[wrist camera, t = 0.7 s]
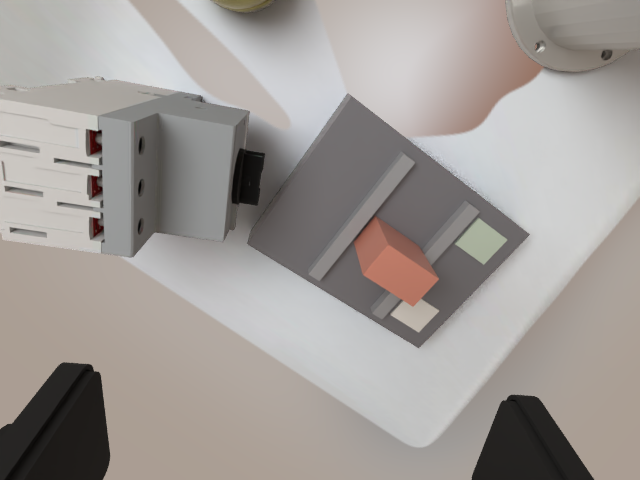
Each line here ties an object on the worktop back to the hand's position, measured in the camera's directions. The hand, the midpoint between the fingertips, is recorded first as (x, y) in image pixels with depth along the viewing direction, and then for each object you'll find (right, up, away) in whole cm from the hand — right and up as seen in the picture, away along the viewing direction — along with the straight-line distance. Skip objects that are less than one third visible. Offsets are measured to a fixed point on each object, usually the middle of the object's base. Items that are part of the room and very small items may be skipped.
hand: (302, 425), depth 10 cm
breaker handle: (+6, +4, +27) cm, 28 cm away
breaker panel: (+6, +6, +30) cm, 31 cm away
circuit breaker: (-11, +13, +26) cm, 31 cm away
